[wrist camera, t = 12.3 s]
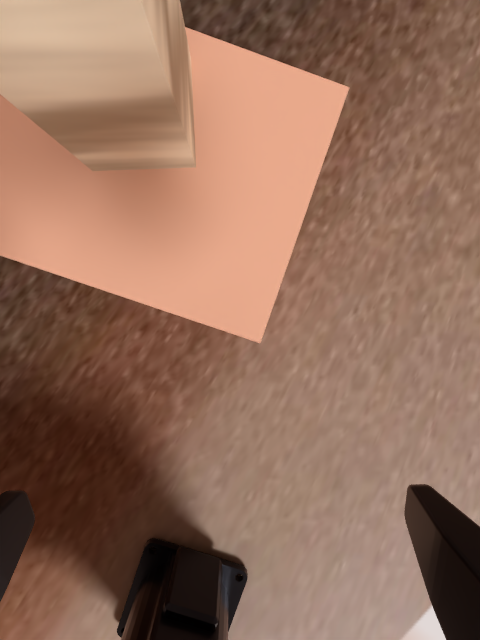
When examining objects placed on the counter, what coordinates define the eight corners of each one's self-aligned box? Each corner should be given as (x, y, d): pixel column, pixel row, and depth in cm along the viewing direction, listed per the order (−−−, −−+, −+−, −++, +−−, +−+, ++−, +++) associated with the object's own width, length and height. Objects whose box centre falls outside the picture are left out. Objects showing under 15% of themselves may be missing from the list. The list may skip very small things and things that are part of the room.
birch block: (195, 167, 17) (85, -169, 5) (92, 171, 17) (-301, -158, 5) (190, 58, 17) (54, -637, 4) (84, 61, 17) (-373, -629, 4)
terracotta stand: (256, 335, 21) (260, 343, 18) (-7, 246, 20) (-49, 238, 17) (332, 118, 20) (349, 87, 17) (57, 18, 19) (24, -32, 16)
